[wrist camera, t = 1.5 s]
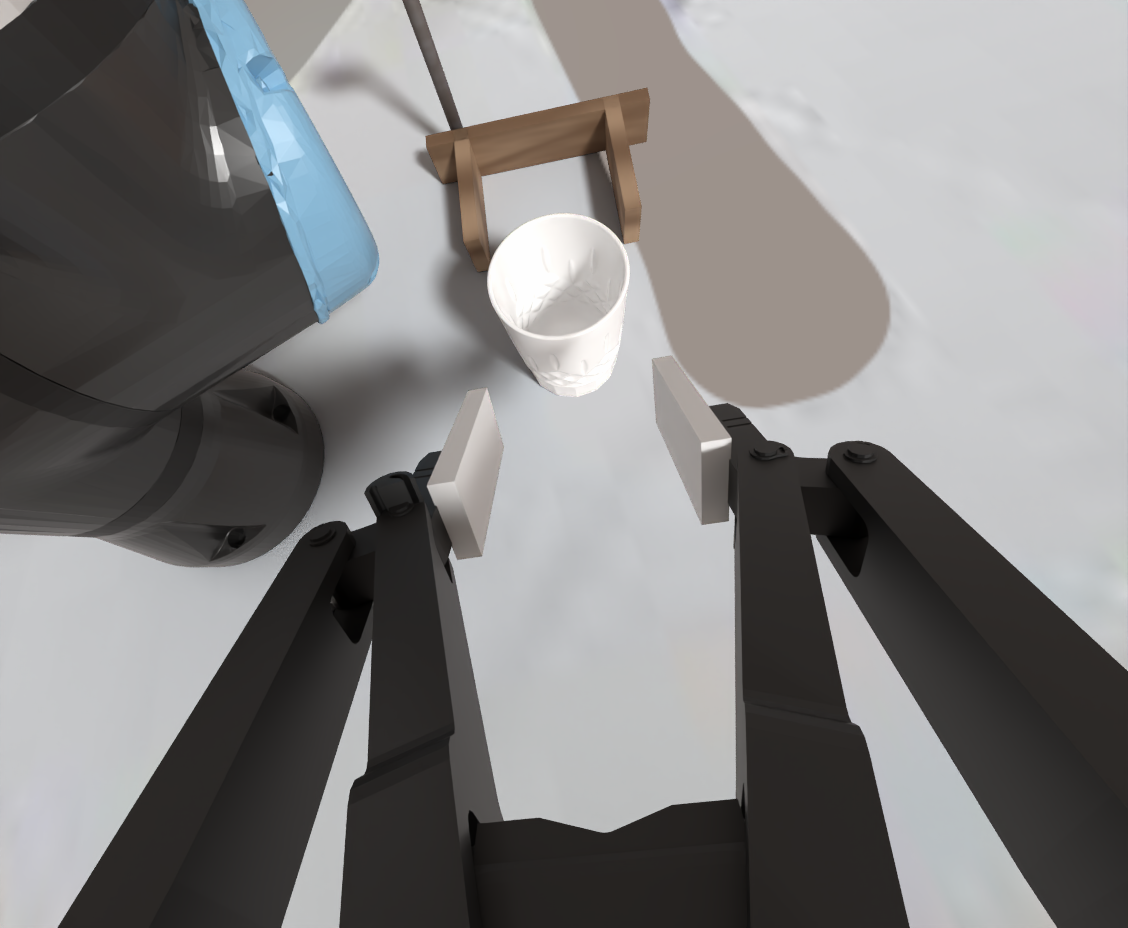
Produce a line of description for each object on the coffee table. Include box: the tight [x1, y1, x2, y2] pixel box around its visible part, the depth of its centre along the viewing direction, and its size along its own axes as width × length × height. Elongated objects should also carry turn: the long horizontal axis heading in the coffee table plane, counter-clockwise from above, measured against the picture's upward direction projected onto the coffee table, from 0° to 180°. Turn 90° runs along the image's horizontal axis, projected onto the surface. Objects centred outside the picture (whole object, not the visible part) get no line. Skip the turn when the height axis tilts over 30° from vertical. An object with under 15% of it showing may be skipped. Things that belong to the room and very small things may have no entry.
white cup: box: [487, 213, 630, 397], centre depth 29 cm, size 8×8×10 cm
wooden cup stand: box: [402, 0, 650, 272], centre depth 29 cm, size 12×20×16 cm, turn 98°
